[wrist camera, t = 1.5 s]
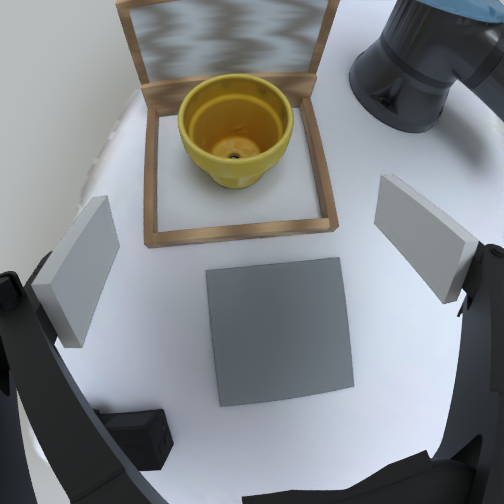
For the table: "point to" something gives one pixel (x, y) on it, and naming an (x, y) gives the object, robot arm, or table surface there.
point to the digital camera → (140, 436)
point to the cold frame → (221, 63)
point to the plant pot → (235, 127)
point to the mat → (279, 331)
